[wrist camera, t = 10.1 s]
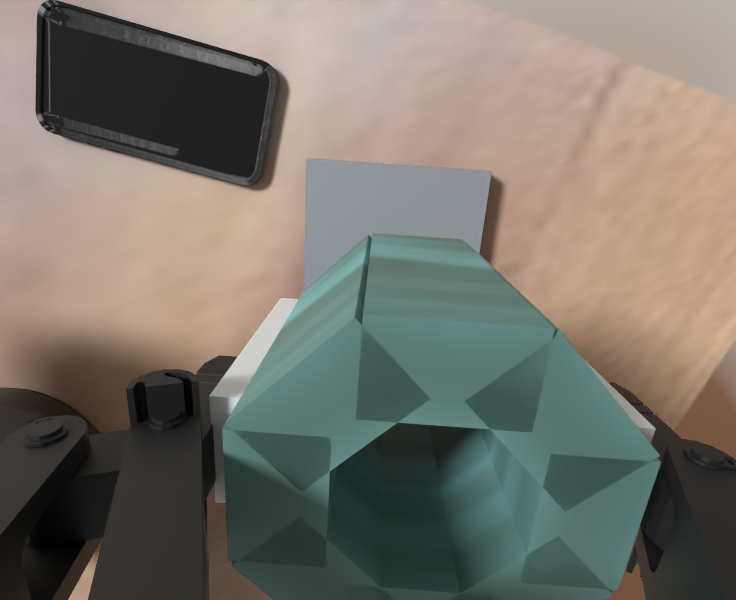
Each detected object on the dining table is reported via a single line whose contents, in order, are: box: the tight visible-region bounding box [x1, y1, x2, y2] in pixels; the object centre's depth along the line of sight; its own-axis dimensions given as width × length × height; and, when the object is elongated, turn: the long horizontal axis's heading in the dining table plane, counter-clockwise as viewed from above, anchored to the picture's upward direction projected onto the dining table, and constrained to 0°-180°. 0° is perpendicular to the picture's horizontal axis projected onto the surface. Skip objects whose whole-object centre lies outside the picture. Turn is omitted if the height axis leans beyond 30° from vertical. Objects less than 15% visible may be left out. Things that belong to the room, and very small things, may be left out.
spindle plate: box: [304, 159, 492, 290], centre depth 24 cm, size 12×12×15 cm
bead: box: [222, 233, 661, 600], centre depth 12 cm, size 8×8×8 cm
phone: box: [36, 0, 280, 185], centre depth 28 cm, size 8×1×15 cm
